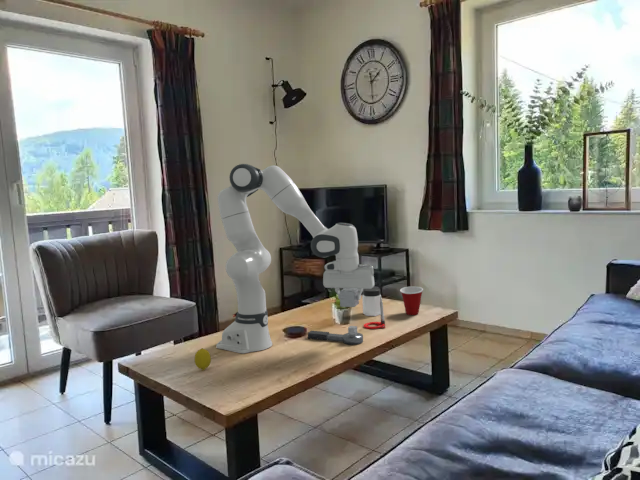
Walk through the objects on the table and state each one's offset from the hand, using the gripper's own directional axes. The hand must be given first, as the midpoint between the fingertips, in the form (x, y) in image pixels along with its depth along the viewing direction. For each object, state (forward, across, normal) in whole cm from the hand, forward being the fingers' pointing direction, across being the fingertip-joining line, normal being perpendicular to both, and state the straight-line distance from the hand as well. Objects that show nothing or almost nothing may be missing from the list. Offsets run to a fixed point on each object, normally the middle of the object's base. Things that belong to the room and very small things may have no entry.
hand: (349, 299), depth 197 cm
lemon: (+17, +42, +41) cm, 61 cm away
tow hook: (+18, -3, -24) cm, 30 cm away
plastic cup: (+18, -14, -48) cm, 53 cm away
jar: (+18, +4, -43) cm, 47 cm away
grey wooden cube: (+2, 0, 0) cm, 2 cm away
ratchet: (+18, +8, -2) cm, 19 cm away
